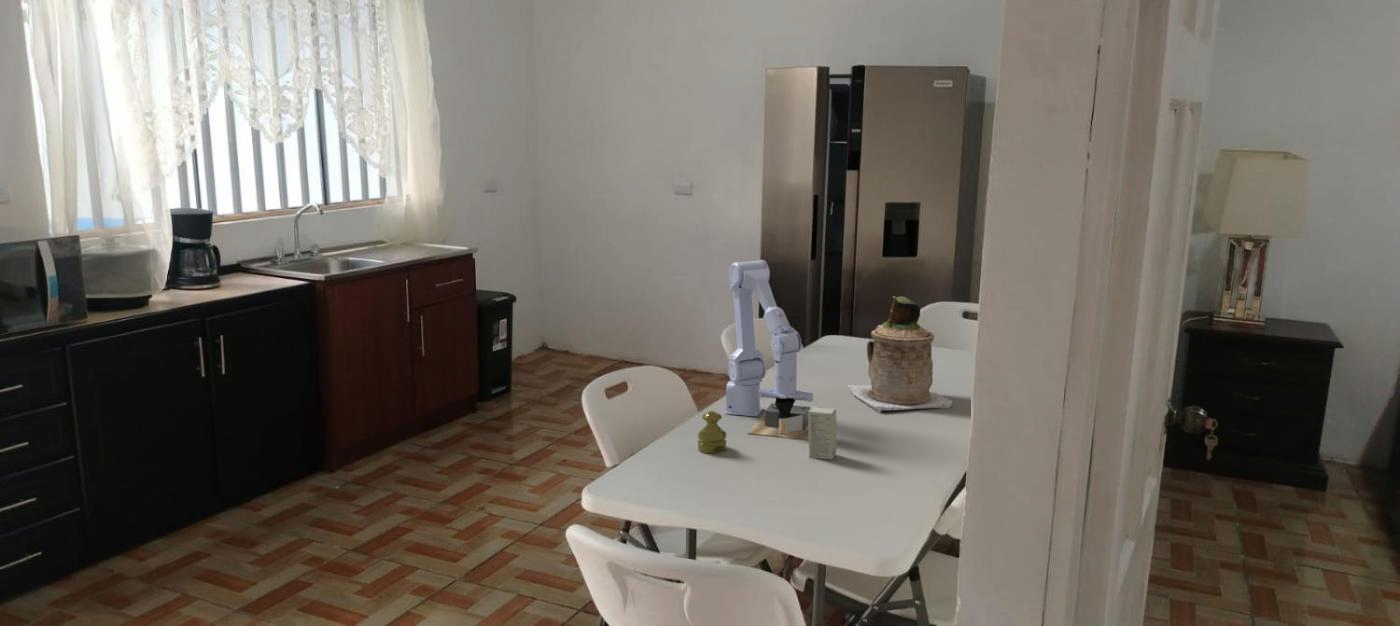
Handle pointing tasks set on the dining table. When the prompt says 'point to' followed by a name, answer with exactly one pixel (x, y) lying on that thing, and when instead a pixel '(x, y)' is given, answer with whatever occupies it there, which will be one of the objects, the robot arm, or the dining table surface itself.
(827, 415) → the skincare box
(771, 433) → the wooden board
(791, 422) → the side door
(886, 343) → the cookie jar
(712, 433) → the salt shaker
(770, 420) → the camera body
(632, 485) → the dining table surface
